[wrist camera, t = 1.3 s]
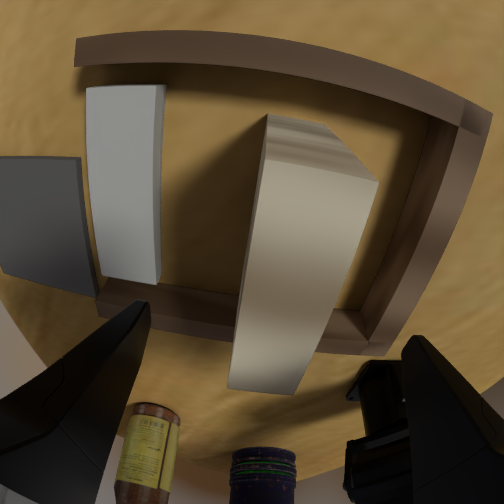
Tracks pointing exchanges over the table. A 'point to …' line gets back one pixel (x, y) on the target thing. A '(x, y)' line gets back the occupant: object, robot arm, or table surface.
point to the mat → (45, 223)
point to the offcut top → (125, 178)
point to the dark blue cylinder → (262, 476)
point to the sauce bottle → (147, 456)
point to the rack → (411, 220)
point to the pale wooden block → (296, 251)
